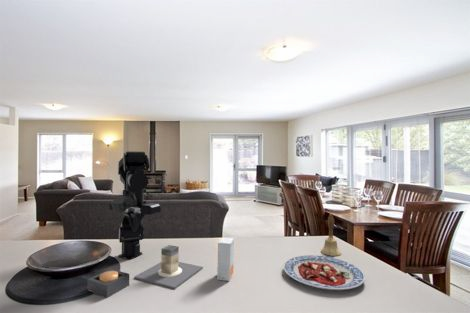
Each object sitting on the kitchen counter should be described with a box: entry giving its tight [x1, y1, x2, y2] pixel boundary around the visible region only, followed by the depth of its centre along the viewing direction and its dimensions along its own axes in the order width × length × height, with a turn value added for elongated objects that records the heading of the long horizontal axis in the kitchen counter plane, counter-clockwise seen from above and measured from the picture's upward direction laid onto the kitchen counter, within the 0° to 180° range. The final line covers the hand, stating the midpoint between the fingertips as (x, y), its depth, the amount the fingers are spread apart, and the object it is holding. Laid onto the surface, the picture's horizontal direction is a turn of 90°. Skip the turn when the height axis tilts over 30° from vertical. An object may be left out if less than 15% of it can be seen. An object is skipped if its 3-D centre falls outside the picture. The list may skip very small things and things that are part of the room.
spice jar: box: [160, 244, 180, 275], centre depth 89 cm, size 4×4×8 cm
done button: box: [100, 271, 118, 283], centre depth 79 cm, size 5×5×2 cm
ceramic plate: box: [283, 254, 366, 291], centre depth 89 cm, size 26×26×3 cm
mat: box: [133, 261, 204, 290], centre depth 89 cm, size 16×16×1 cm
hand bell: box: [320, 213, 342, 257], centre depth 111 cm, size 8×8×16 cm
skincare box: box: [216, 237, 235, 282], centre depth 87 cm, size 6×4×12 cm
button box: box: [86, 268, 130, 299], centre depth 79 cm, size 8×8×4 cm
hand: (134, 231), depth 93 cm, fingers closed
